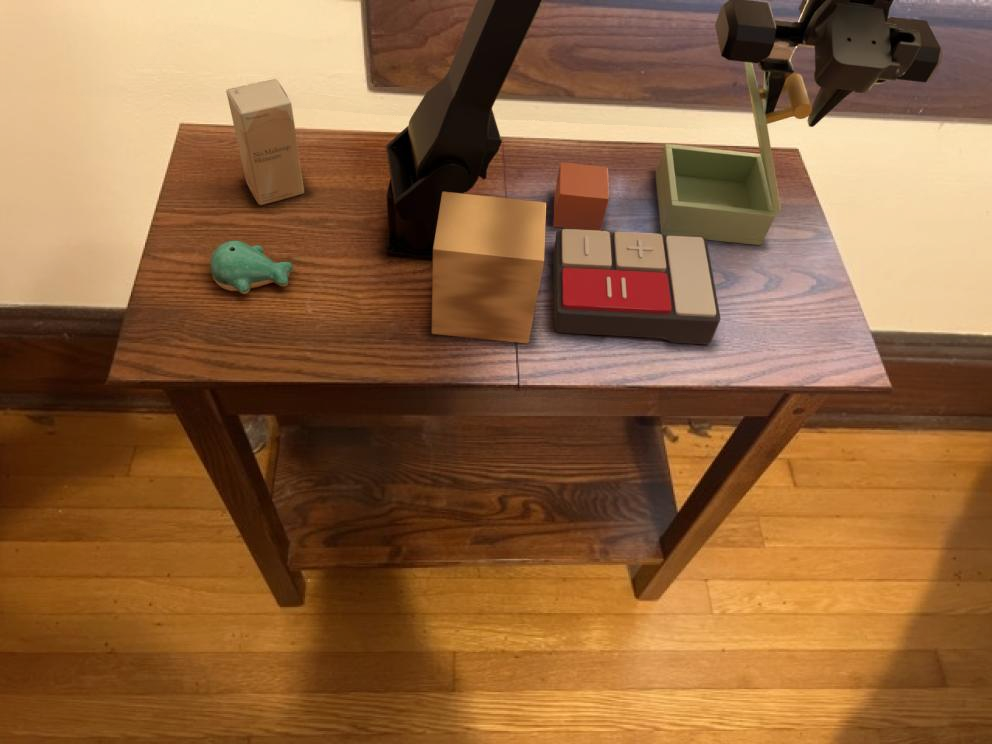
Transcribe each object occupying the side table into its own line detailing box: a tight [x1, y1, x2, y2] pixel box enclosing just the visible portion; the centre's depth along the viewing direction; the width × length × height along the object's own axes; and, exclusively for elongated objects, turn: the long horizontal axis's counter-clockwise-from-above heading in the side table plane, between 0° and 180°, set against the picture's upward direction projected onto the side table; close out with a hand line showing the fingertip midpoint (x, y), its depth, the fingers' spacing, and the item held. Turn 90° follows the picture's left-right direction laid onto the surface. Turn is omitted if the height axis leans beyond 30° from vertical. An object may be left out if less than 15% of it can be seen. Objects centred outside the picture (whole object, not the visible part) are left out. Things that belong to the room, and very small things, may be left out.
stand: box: [431, 192, 547, 344], centre depth 65 cm, size 9×7×11 cm
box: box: [225, 78, 305, 206], centre depth 73 cm, size 5×4×11 cm
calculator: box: [553, 228, 721, 345], centre depth 71 cm, size 11×4×15 cm
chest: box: [655, 143, 777, 246], centre depth 79 cm, size 11×10×4 cm
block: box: [553, 161, 610, 231], centre depth 77 cm, size 5×5×4 cm
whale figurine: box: [209, 240, 294, 295], centre depth 68 cm, size 6×7×4 cm
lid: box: [743, 62, 812, 214], centre depth 73 cm, size 11×10×5 cm
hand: (787, 121), depth 72 cm, fingers open, 4 cm apart
